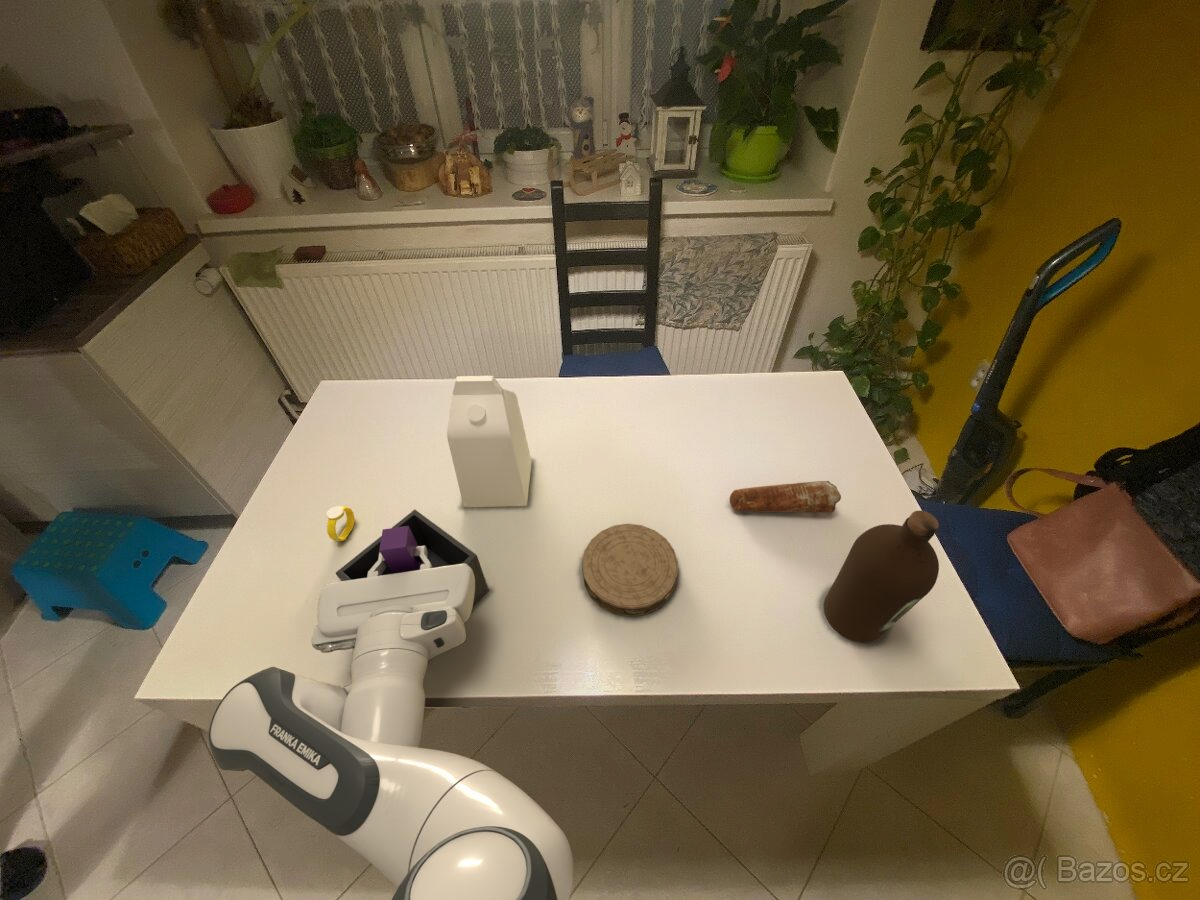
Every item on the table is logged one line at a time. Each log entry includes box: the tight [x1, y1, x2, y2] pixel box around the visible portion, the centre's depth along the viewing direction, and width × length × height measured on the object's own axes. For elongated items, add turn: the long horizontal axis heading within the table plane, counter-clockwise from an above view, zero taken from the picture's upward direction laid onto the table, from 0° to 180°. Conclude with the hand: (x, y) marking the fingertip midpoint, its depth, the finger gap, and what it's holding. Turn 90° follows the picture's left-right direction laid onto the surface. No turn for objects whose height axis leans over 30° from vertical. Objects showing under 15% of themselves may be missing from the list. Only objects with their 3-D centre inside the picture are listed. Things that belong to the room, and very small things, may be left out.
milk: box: [446, 375, 533, 508], centre depth 91 cm, size 12×12×26 cm
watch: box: [325, 505, 355, 542], centre depth 90 cm, size 6×3×6 cm, turn 173°
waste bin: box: [335, 509, 490, 607], centre depth 79 cm, size 15×15×11 cm
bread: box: [729, 480, 842, 514], centre depth 94 cm, size 6×19×6 cm, turn 88°
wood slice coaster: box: [581, 523, 679, 618], centre depth 85 cm, size 16×16×3 cm
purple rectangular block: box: [379, 526, 423, 574], centre depth 74 cm, size 4×4×10 cm
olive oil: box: [823, 510, 940, 644], centre depth 72 cm, size 11×11×25 cm
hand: (404, 550), depth 74 cm, fingers closed on purple rectangular block, 3 cm apart
